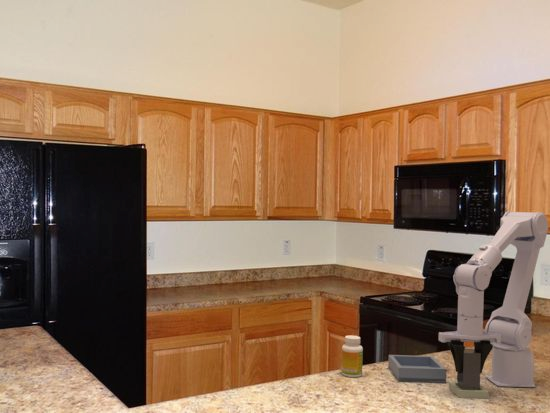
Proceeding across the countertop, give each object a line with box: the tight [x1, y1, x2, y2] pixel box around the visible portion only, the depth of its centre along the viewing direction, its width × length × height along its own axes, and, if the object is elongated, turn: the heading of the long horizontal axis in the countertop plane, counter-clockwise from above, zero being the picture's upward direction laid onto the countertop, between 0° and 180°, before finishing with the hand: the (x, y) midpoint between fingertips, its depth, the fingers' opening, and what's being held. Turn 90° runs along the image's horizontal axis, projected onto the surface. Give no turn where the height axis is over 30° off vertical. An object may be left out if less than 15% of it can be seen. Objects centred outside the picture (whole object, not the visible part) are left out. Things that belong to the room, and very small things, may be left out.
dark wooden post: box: [456, 348, 481, 388], centre depth 131 cm, size 4×4×8 cm
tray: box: [387, 354, 447, 384], centre depth 144 cm, size 12×12×4 cm
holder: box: [448, 380, 490, 399], centre depth 131 cm, size 7×7×2 cm
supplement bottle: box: [340, 334, 364, 378], centre depth 143 cm, size 5×5×10 cm
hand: (468, 372), depth 131 cm, fingers closed on dark wooden post, 4 cm apart
